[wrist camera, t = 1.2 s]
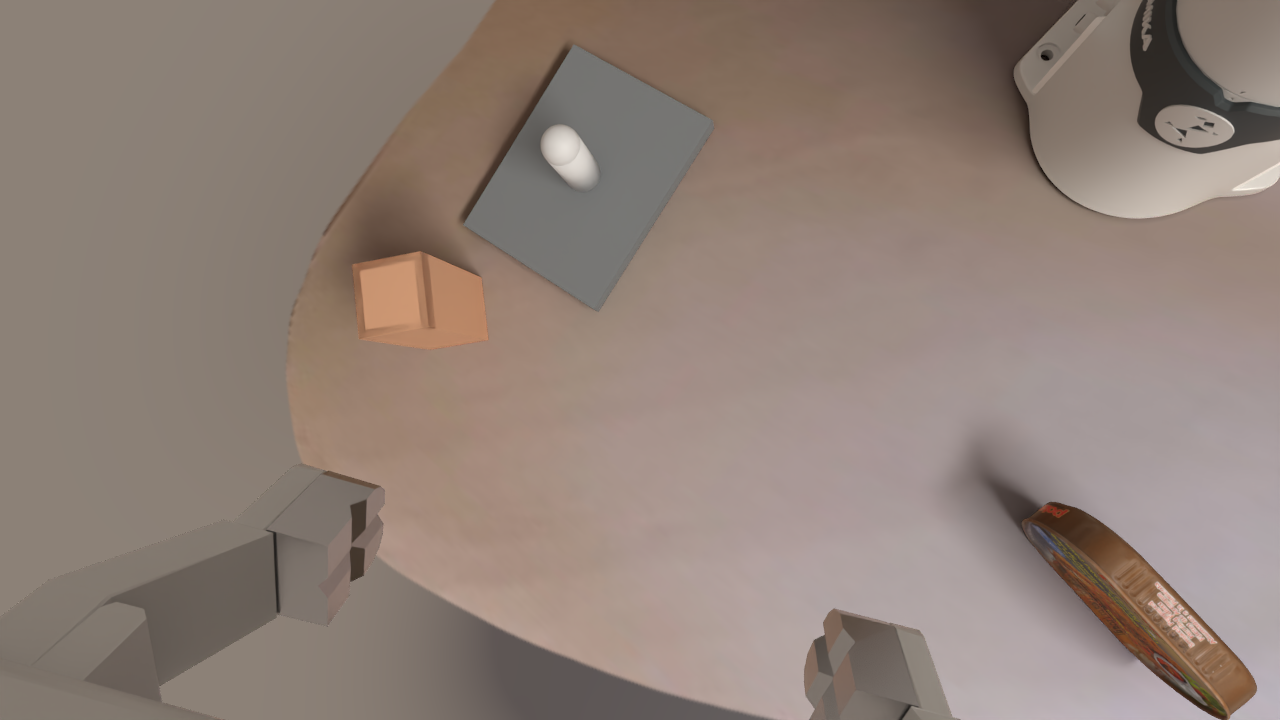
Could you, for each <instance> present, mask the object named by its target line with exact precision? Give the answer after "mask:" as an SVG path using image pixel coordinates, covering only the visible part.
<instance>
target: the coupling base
mask: <svg viewBox="0 0 1280 720" xmlns="http://www.w3.org/2000/svg"><path fill="white" fill-rule="evenodd" d="M713 129H714V124H713V120H711V119H709V118H707V117H706V116H704V115H702V114H700V113H698V112H696V111H695V110H693V109H691V108H689V107H687V106H685V105H684V104H682V103H680V102H678V101H676V100H674V99H673V98H671V97H669V96H667V95H665V94H664V93H662V92H660V91H658V90H656V89H654V88H653V87H651V86H649V85H647V84H645V83H643V82H642V81H640V80H638V79H636V78H634V77H632V76H631V75H629V74H627V73H625V72H623V71H622V70H620V69H618V68H616V67H614V66H612V65H611V64H609V63H607V62H605V61H603V60H601V59H600V58H598V57H596V56H594V55H592V54H590V53H589V52H587V51H585V50H583V49H581V48H580V47H578V46H576V45H573V47H572V48H571V50H570V51H569V53H568V55H567V56H566V58H565V60H564V61H563V63H562V64H561V66H560V68H559V69H558V71H557V73H556V74H555V76H554V78H553V79H552V81H551V82H550V84H549V86H548V87H547V89H546V91H545V92H544V94H543V95H542V97H541V99H540V100H539V102H538V104H537V105H536V107H535V108H534V110H533V112H532V113H531V115H530V117H529V118H528V120H527V122H526V123H525V125H524V126H523V128H522V130H521V131H520V133H519V135H518V136H517V138H516V139H515V141H514V143H513V144H512V146H511V148H510V149H509V151H508V153H507V154H506V156H505V157H504V159H503V161H502V162H501V164H500V166H499V167H498V169H497V170H496V172H495V174H494V175H493V177H492V179H491V180H490V182H489V184H488V185H487V187H486V188H485V190H484V192H483V193H482V195H481V197H480V198H479V200H478V201H477V203H476V205H475V206H474V208H473V210H472V211H471V213H470V214H469V216H468V218H467V219H466V221H465V223H464V224H463V225H464V226H465V227H467V228H469V229H470V230H472V231H473V232H475V233H476V234H478V235H479V236H481V237H483V238H484V239H486V240H487V241H489V242H490V243H492V244H493V245H495V246H496V247H498V248H500V249H501V250H503V251H504V252H506V253H507V254H509V255H510V256H512V257H514V258H515V259H517V260H518V261H520V262H521V263H523V264H524V265H526V266H527V267H529V268H531V269H532V270H534V271H535V272H537V273H538V274H540V275H541V276H543V277H544V278H546V279H548V280H549V281H551V282H552V283H554V284H555V285H557V286H558V287H560V288H562V289H563V290H565V291H566V292H568V293H569V294H571V295H572V296H574V297H575V298H577V299H579V300H580V301H582V302H583V303H585V304H586V305H588V306H589V307H591V308H593V309H594V310H596V311H598V312H599V310H600V308H601V307H602V305H603V304H604V302H605V300H606V299H607V297H608V296H609V294H610V293H611V291H612V289H613V288H614V286H615V285H616V283H617V281H618V280H619V278H620V277H621V275H622V274H623V272H624V270H625V269H626V267H627V266H628V264H629V262H630V261H631V259H632V258H633V256H634V255H635V253H636V251H637V250H638V248H639V247H640V245H641V243H642V242H643V240H644V239H645V237H646V236H647V234H648V232H649V231H650V229H651V228H652V226H653V224H654V223H655V221H656V220H657V218H658V217H659V215H660V213H661V212H662V210H663V209H664V207H665V205H666V204H667V202H668V201H669V199H670V198H671V196H672V194H673V193H674V191H675V190H676V188H677V186H678V185H679V183H680V182H681V180H682V179H683V177H684V175H685V174H686V172H687V171H688V169H689V167H690V166H691V164H692V163H693V161H694V160H695V158H696V156H697V155H698V153H699V152H700V150H701V148H702V147H703V145H704V144H705V142H706V141H707V139H708V137H709V136H710V134H711V133H712V131H713Z"/></svg>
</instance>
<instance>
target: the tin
mask: <svg viewBox="0 0 1280 720" xmlns="http://www.w3.org/2000/svg"><path fill="white" fill-rule="evenodd" d="M1022 528H1023V530H1024V533H1025V535H1026V536H1027V538H1028V539H1029V541H1030V542H1031V543H1032V545H1033V546H1034V547H1035V548H1036V549H1037V551H1038V552H1039V553H1040V554H1041V555H1042V557H1043V558H1044V559H1045V560H1046V561H1047V562H1048V563H1049V564H1050V565H1051V566H1052V568H1053V569H1054V570H1055V571H1056V572H1057V573H1058V574H1059V575H1060V576H1061V577H1062V578H1063V579H1064V581H1065V582H1066V583H1067V584H1068V585H1069V586H1070V587H1071V588H1072V589H1073V590H1074V591H1075V593H1076V594H1077V595H1078V596H1079V597H1080V598H1081V599H1082V600H1083V601H1084V602H1085V603H1086V605H1087V606H1088V607H1089V608H1090V609H1091V610H1092V611H1093V612H1094V613H1095V615H1096V616H1097V617H1098V618H1099V619H1100V620H1101V621H1102V622H1103V623H1104V624H1105V625H1106V626H1107V628H1108V629H1109V630H1110V631H1111V632H1112V633H1113V634H1114V635H1115V636H1116V637H1117V638H1118V640H1119V641H1120V642H1121V643H1122V644H1123V645H1124V646H1125V647H1126V648H1127V649H1128V650H1129V651H1130V652H1132V653H1133V654H1134V655H1135V656H1136V657H1137V658H1138V659H1139V660H1140V661H1141V662H1142V663H1143V664H1144V665H1145V666H1146V667H1147V668H1149V669H1150V670H1151V671H1152V672H1153V673H1154V674H1155V675H1156V676H1158V677H1159V678H1160V679H1161V680H1163V681H1164V682H1165V683H1166V684H1167V685H1169V686H1170V687H1171V688H1173V689H1174V690H1175V691H1176V692H1178V693H1179V694H1180V695H1182V696H1183V697H1185V698H1186V699H1187V700H1189V701H1190V702H1192V703H1193V704H1194V705H1196V706H1197V707H1199V708H1200V709H1202V710H1203V711H1205V712H1207V713H1208V714H1210V715H1212V716H1214V717H1216V718H1218V719H1221V720H1228V719H1229V718H1230V715H1231V714H1232V713H1234V712H1235V711H1236V710H1237V709H1239V708H1240V707H1241V706H1243V705H1244V704H1245V703H1246V702H1247V701H1249V700H1250V699H1251V698H1252V697H1253V696H1254V695H1255V693H1256V691H1257V686H1256V683H1255V680H1254V678H1253V676H1252V675H1251V673H1250V672H1249V670H1248V669H1247V668H1246V667H1245V665H1244V664H1243V663H1242V661H1241V660H1240V659H1239V658H1238V657H1237V656H1236V655H1235V654H1234V653H1233V652H1232V650H1231V649H1230V648H1229V647H1228V646H1227V645H1226V644H1225V643H1224V642H1223V641H1222V640H1221V639H1220V638H1219V637H1218V635H1217V634H1216V633H1215V632H1214V631H1213V630H1212V629H1211V628H1210V627H1209V626H1208V625H1207V624H1206V623H1205V622H1204V621H1203V620H1202V619H1201V618H1200V616H1199V615H1198V614H1197V613H1196V612H1195V611H1194V610H1193V609H1192V608H1191V607H1190V606H1189V605H1188V604H1187V603H1186V602H1185V601H1184V600H1183V599H1182V598H1181V597H1180V596H1179V594H1178V593H1177V592H1176V591H1175V590H1174V589H1173V588H1172V587H1171V586H1170V585H1169V584H1168V583H1167V582H1166V581H1165V580H1164V579H1163V578H1162V577H1161V576H1160V575H1159V574H1158V573H1157V572H1156V571H1155V570H1154V569H1153V568H1152V567H1151V566H1150V565H1149V564H1148V563H1147V561H1146V560H1145V559H1144V558H1143V557H1142V556H1141V555H1140V554H1139V553H1138V552H1136V551H1135V550H1134V549H1133V548H1132V547H1131V546H1130V545H1129V544H1128V543H1127V542H1125V541H1124V540H1123V539H1122V538H1121V537H1120V536H1118V535H1117V534H1116V533H1115V532H1114V531H1112V530H1111V529H1110V528H1108V527H1107V526H1106V525H1104V524H1103V523H1101V522H1100V521H1099V520H1097V519H1095V518H1094V517H1092V516H1091V515H1089V514H1087V513H1086V512H1084V511H1082V510H1080V509H1078V508H1075V507H1071V506H1067V505H1064V504H1061V503H1057V502H1049V503H1047V504H1046V505H1044V506H1043V507H1042V508H1041V509H1039V510H1038V511H1037V512H1036V513H1034V514H1033V515H1032V516H1031V517H1029V518H1028V519H1024V520H1023V521H1022Z"/></svg>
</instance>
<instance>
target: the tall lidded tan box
mask: <svg viewBox="0 0 1280 720" xmlns="http://www.w3.org/2000/svg"><path fill="white" fill-rule="evenodd" d="M352 271H353V281H354V292H355V302H356V313H357V324H358V334H359V339H362V340H368V341H375V342H382V343H388V344H395V345H402V346H408V347H415V348H422V349H428V350H432V349H438V348H444V347H450V346H456V345H462V344H468V343H474V342H480V341H486V340H488V331H487V322H486V313H485V304H484V295H483V287H482V278H481V277H479V276H477V275H474V274H472V273H470V272H468V271H465V270H463V269H461V268H458V267H456V266H454V265H451V264H449V263H447V262H445V261H442V260H440V259H438V258H435V257H433V256H431V255H428V254H426V253H424V252H422V251H419V252H414V253H409V254H403V255H398V256H393V257H388V258H383V259H378V260H373V261H368V262H363V263H358V264H353V265H352Z"/></svg>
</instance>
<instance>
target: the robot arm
mask: <svg viewBox="0 0 1280 720" xmlns="http://www.w3.org/2000/svg"><path fill="white" fill-rule="evenodd" d="M1041 55H1046V56H1048V58H1049V61H1044V60H1043V59H1042V58H1041ZM1014 80H1015V82H1016V85H1017V87H1018V89H1019V91H1020V93H1021V95H1022V96H1023V98H1024V100H1025V101H1026V103H1027V106H1028V110H1029V122H1030V136H1031V142H1032V146H1033V149H1034V153H1035V155H1036V158H1037V160H1038V162H1039V164H1040V166H1041V168H1042V169H1043V171H1044V172H1045V174H1046V175H1047V177H1048V178H1049V179H1050V180H1051V182H1052V183H1053V184H1054V185H1055V186H1056V187H1057V188H1058V189H1059V190H1060V191H1062V192H1063V193H1064V194H1065V195H1067V196H1068V197H1069V198H1071V199H1072V200H1074V201H1075V202H1077V203H1079V204H1081V205H1083V206H1085V207H1087V208H1089V209H1092V210H1094V211H1097V212H1100V213H1103V214H1107V215H1111V216H1117V217H1124V218H1152V217H1159V216H1165V215H1169V214H1173V213H1176V212H1180V211H1182V210H1185V209H1188V208H1190V207H1192V206H1195V205H1197V204H1199V203H1201V202H1204V201H1206V200H1209V199H1212V198H1216V197H1229V196H1244V195H1251V194H1255V193H1259V192H1261V191H1263V190H1265V189H1266V188H1268V187H1270V186H1272V185H1273V184H1274V183H1276V182H1277V180H1278V179H1279V177H1280V0H1077V2H1076V3H1075V4H1074V5H1073V6H1072V7H1071V8H1070V9H1069V10H1068V11H1067V12H1066V13H1065V14H1064V15H1063V16H1062V17H1061V18H1060V19H1059V20H1058V21H1057V22H1056V23H1055V24H1054V25H1053V26H1052V27H1051V28H1050V29H1049V30H1048V32H1047V33H1046V34H1045V35H1044V36H1043V37H1042V38H1041V39H1040V40H1039V41H1038V42H1037V43H1036V44H1035V45H1034V46H1033V47H1032V48H1031V49H1030V50H1029V51H1028V52H1027V53H1026V54H1025V55H1024V56H1023V57H1022V58H1021V59H1020V61H1019V62H1018V63H1017V64H1016V66H1015V68H1014ZM384 504H385V489H383V488H382V487H381V486H378V485H375V484H372V483H368V482H365V481H362V480H358V479H355V478H351V477H348V476H345V475H341V474H338V473H335V472H331V471H325V470H322V469H319V468H315V467H312V466H309V465H306V464H302V463H301V464H298V465H295V466H293V467H291V468H290V469H289V470H288V471H287V472H286V473H285V474H284V475H283V476H281V477H280V478H279V479H278V480H277V481H276V482H275V483H274V484H273V485H272V486H271V487H270V488H269V489H267V490H266V491H265V492H264V493H263V494H262V495H261V496H260V497H259V498H258V499H257V500H256V501H254V503H252V504H251V505H250V506H249V507H248V508H247V509H246V510H245V511H244V512H243V513H242V514H240V515H239V516H238V517H237V518H236V519H235V520H234V521H233V522H231V521H227V520H222V521H219V522H216V523H213V524H210V525H207V526H204V527H201V528H199V529H196V530H192V531H190V532H187V533H184V534H181V535H178V536H175V537H172V538H170V539H166V540H163V541H160V542H158V543H155V544H152V545H149V546H146V547H143V548H140V549H137V550H134V551H132V552H129V553H125V554H123V555H120V556H117V557H114V558H111V559H108V560H105V561H103V562H99V563H96V564H93V565H90V566H88V567H85V568H82V569H79V570H76V571H73V572H70V573H67V574H64V575H61V576H58V577H56V578H53V579H50V580H48V581H46V582H45V583H44V584H42V585H41V586H40V587H39V588H37V589H36V590H35V591H33V592H32V593H31V594H29V595H28V596H27V597H25V598H24V599H23V600H21V601H20V602H19V603H17V604H16V605H15V606H14V607H12V608H11V609H10V610H8V611H7V612H6V613H4V614H3V615H2V616H0V720H224V719H220V718H217V717H213V716H210V715H206V714H202V713H199V712H195V711H191V710H188V709H184V708H181V707H177V706H173V705H169V704H166V703H162V698H161V694H160V688H159V686H161V685H163V684H164V683H166V682H168V681H169V680H171V679H173V678H175V677H176V676H178V675H180V674H181V673H183V672H185V671H186V670H188V669H190V668H192V667H193V666H195V665H197V664H198V663H200V662H202V661H204V660H205V659H207V658H208V657H210V656H212V655H214V654H216V653H217V652H219V651H221V650H222V649H224V648H225V647H227V646H229V645H231V644H232V643H234V642H236V641H238V640H239V639H241V638H243V637H244V636H246V635H248V634H250V633H251V632H253V631H255V630H257V629H258V628H260V627H262V626H263V625H265V624H267V623H268V622H270V621H272V620H273V619H275V618H276V617H277V615H281V616H286V617H290V618H294V619H298V620H302V621H306V622H310V623H315V624H319V625H323V626H327V627H328V625H329V624H330V622H331V621H332V619H333V618H334V617H335V615H336V614H337V613H338V611H339V610H340V608H341V607H342V606H343V604H344V603H345V601H346V600H347V599H348V597H349V596H350V582H351V581H354V580H356V579H358V578H360V577H362V576H364V574H365V573H366V572H367V570H368V569H369V567H370V566H371V564H372V562H373V560H374V558H375V556H376V554H377V551H378V549H379V547H380V543H381V539H382V535H383V522H382V521H381V519H380V517H379V516H378V512H379V511H380V510H381V508H382V507H383V506H384ZM823 626H824V632H825V635H823V636H821V637H819V638H817V639H815V640H814V641H813V643H812V645H811V647H810V650H809V652H808V654H807V659H806V664H805V669H804V686H805V695H806V697H807V698H808V700H809V701H810V703H811V704H812V706H813V707H814V708H815V710H814V712H813V714H812V716H811V717H810V719H809V720H960V719H957V718H954V717H952V714H951V711H950V709H949V706H948V703H947V700H946V697H945V694H944V692H943V689H942V686H941V683H940V680H939V678H938V675H937V672H936V669H935V666H934V663H933V661H932V658H931V655H930V652H929V649H928V646H927V644H926V641H925V638H924V636H923V634H922V633H921V632H920V631H919V630H916V629H913V628H909V627H905V626H901V625H897V624H893V623H887V622H884V621H880V620H877V619H873V618H869V617H865V616H861V615H857V614H854V613H850V612H846V611H842V610H838V609H833V610H831V611H830V612H829V613H828V615H827V617H826V618H825V620H824V622H823Z"/></svg>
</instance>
